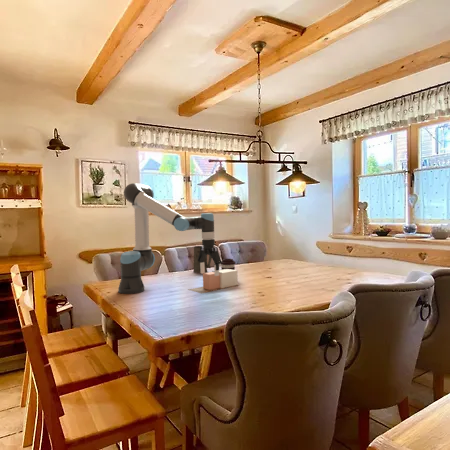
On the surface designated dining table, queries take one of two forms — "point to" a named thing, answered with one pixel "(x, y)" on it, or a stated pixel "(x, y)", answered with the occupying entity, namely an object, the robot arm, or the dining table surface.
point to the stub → (211, 281)
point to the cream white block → (228, 278)
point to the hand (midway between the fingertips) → (209, 274)
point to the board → (202, 290)
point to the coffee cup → (228, 264)
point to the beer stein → (197, 263)
